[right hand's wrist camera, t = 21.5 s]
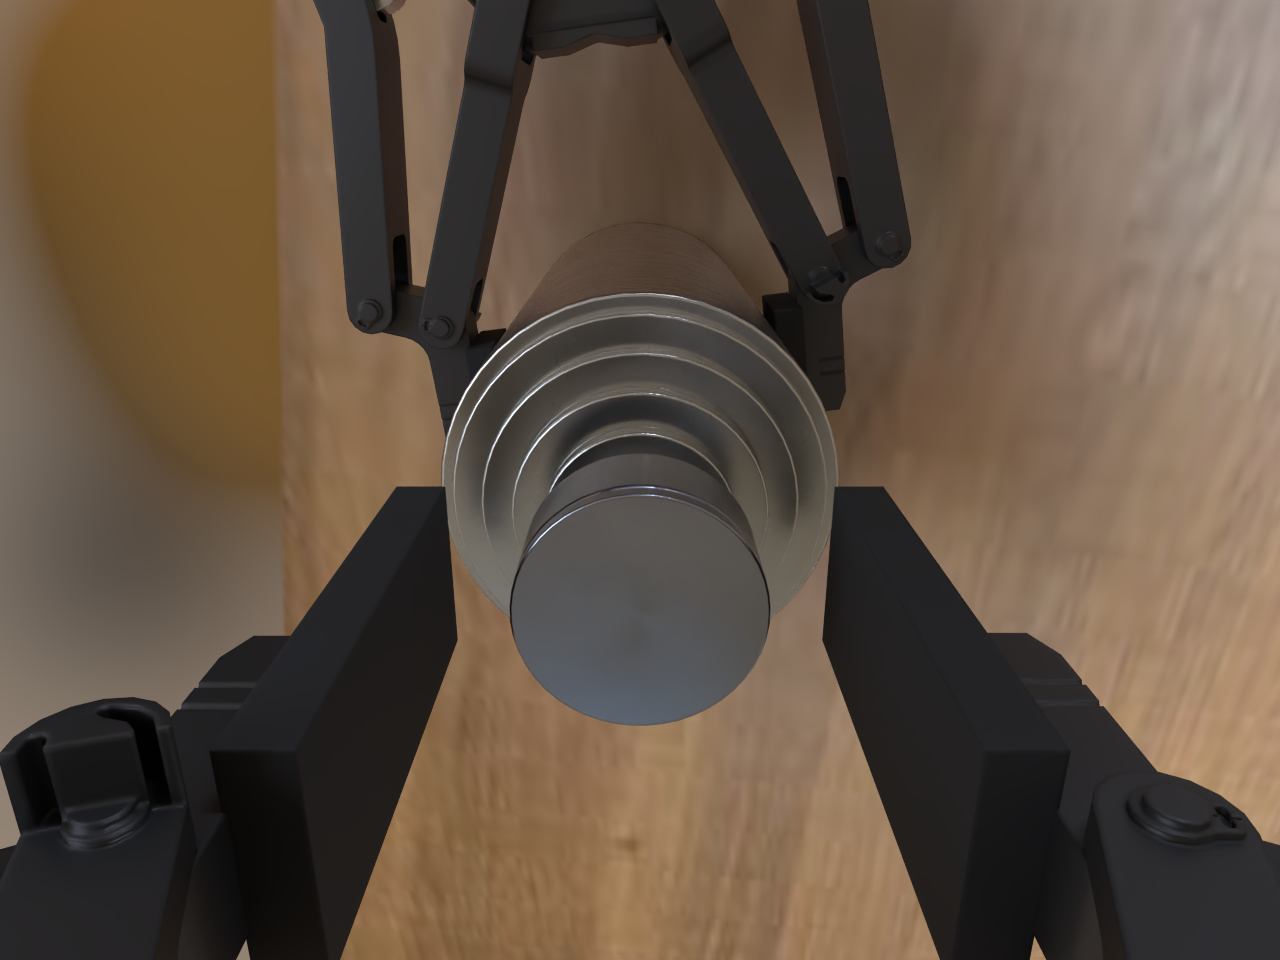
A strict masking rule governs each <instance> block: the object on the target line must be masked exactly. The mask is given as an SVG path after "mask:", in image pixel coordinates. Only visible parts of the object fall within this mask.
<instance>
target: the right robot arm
mask: <svg viewBox="0 0 1280 960" xmlns="http://www.w3.org/2000/svg"><path fill="white" fill-rule="evenodd" d="M457 640H458V639H457V626H456V614H455V601H454V589H453V576H452V564H451V551H450V538H449V526H448V513H447V501H446V488H445V487H396V488H395V490H394V491H393V493H392V494H391V495H390V497H389V498H388V500H387V501H386V502H385V504H384V505H383V507H382V508H381V510H380V511H379V512H378V514H377V515H376V517H375V518H374V519H373V521H372V522H371V524H370V525H369V526H368V528H367V529H366V531H365V532H364V533H363V535H362V536H361V538H360V539H359V540H358V542H357V543H356V545H355V546H354V547H353V549H352V550H351V552H350V553H349V555H348V556H347V557H346V559H345V560H344V562H343V563H342V564H341V566H340V567H339V569H338V570H337V571H336V573H335V574H334V576H333V577H332V578H331V580H330V581H329V583H328V584H327V585H326V587H325V588H324V590H323V591H322V593H321V594H320V595H319V597H318V598H317V600H316V601H315V602H314V604H313V605H312V607H311V608H310V609H309V611H308V612H307V614H306V615H305V616H304V618H303V619H302V621H301V622H300V623H299V625H298V626H297V628H296V629H295V630H294V632H293V633H292V635H291V636H253V637H251V638H250V639H248V640H247V641H245V642H243V643H242V644H240V645H239V646H237V647H236V648H234V649H232V650H231V651H229V652H228V653H226V654H225V655H223V656H221V657H220V658H219V659H218V660H217V661H216V663H215V664H214V665H213V666H212V668H211V669H210V670H209V671H208V673H207V674H206V675H205V676H204V677H203V679H202V680H201V681H200V682H199V687H198V688H194V690H193V691H192V692H191V693H190V694H189V696H188V697H187V698H186V699H185V700H184V702H183V703H182V707H181V710H176V712H175V713H174V714H173V715H172V716H171V717H170V712H169V711H167V710H166V709H165V708H163V707H162V706H161V705H160V704H158V703H157V702H155V701H150V700H145V699H140V698H135V697H128V698H112V699H102V700H97V701H93V702H90V703H85V704H81V705H77V706H73V707H70V708H67V709H65V710H63V711H60V712H58V713H55V714H53V715H51V716H48V717H46V718H43V719H41V720H39V721H38V722H36V723H35V724H33V725H31V726H30V727H29V728H27V729H25V730H24V731H22V732H21V733H19V734H18V735H16V736H15V737H13V739H12V740H11V741H10V742H9V743H8V744H7V745H6V747H5V748H4V749H3V750H2V751H1V752H0V766H1V770H2V773H3V777H4V780H5V784H6V787H7V790H8V794H9V797H10V800H11V804H12V807H13V811H14V814H15V817H16V821H17V824H18V828H19V831H20V834H21V836H20V838H19V840H18V842H17V844H16V845H14V846H10V847H7V848H3V849H0V960H236V959H237V957H238V955H239V953H240V951H241V949H242V947H243V944H244V943H245V941H246V940H247V945H248V950H249V955H250V960H340V958H341V955H342V953H343V950H344V947H345V945H346V942H347V939H348V936H349V934H350V931H351V928H352V926H353V923H354V920H355V917H356V915H357V912H358V909H359V907H360V904H361V901H362V898H363V896H364V893H365V890H366V888H367V885H368V882H369V879H370V877H371V874H372V871H373V868H374V866H375V863H376V860H377V858H378V855H379V852H380V849H381V847H382V844H383V841H384V839H385V836H386V833H387V830H388V828H389V825H390V822H391V820H392V817H393V814H394V811H395V809H396V806H397V803H398V801H399V798H400V795H401V792H402V790H403V787H404V784H405V782H406V779H407V776H408V773H409V771H410V768H411V765H412V763H413V760H414V757H415V754H416V752H417V749H418V746H419V744H420V741H421V738H422V735H423V733H424V730H425V727H426V725H427V722H428V719H429V716H430V714H431V711H432V708H433V706H434V703H435V700H436V697H437V695H438V692H439V689H440V686H441V684H442V681H443V678H444V676H445V673H446V670H447V667H448V665H449V662H450V659H451V657H452V654H453V651H454V648H455V646H456V643H457ZM822 640H823V643H824V646H825V648H826V651H827V654H828V657H829V659H830V662H831V665H832V667H833V670H834V673H835V676H836V678H837V681H838V684H839V686H840V689H841V692H842V695H843V697H844V700H845V703H846V706H847V708H848V711H849V714H850V716H851V719H852V722H853V725H854V727H855V730H856V733H857V735H858V738H859V741H860V744H861V746H862V749H863V752H864V754H865V757H866V760H867V763H868V765H869V768H870V771H871V773H872V776H873V779H874V782H875V784H876V787H877V790H878V792H879V795H880V798H881V801H882V803H883V806H884V809H885V811H886V814H887V817H888V820H889V822H890V825H891V828H892V830H893V833H894V836H895V839H896V841H897V844H898V847H899V849H900V852H901V855H902V858H903V860H904V863H905V866H906V868H907V871H908V874H909V877H910V879H911V882H912V885H913V888H914V890H915V893H916V896H917V898H918V901H919V904H920V907H921V909H922V912H923V915H924V917H925V920H926V923H927V926H928V928H929V931H930V934H931V936H932V939H933V942H934V945H935V947H936V950H937V953H938V955H939V958H940V960H1030V955H1031V950H1032V945H1033V940H1034V936H1035V938H1036V940H1037V942H1038V944H1039V946H1040V948H1041V950H1042V952H1043V954H1044V956H1045V958H1046V960H1280V845H1277V844H1273V843H1270V842H1266V841H1262V838H1261V836H1260V834H1259V833H1258V831H1257V830H1256V829H1255V827H1254V826H1253V825H1252V823H1251V822H1250V820H1249V819H1248V818H1247V816H1246V815H1245V814H1244V813H1243V812H1242V811H1240V810H1239V809H1238V808H1236V807H1235V806H1234V805H1232V804H1231V803H1230V802H1228V801H1227V800H1226V799H1224V798H1223V797H1222V796H1220V795H1219V794H1217V793H1215V792H1213V791H1210V790H1208V789H1206V788H1204V787H1202V786H1200V785H1198V784H1196V783H1194V782H1192V781H1190V780H1186V779H1182V778H1179V777H1175V776H1171V775H1168V774H1164V773H1161V772H1157V770H1156V769H1155V768H1154V767H1153V766H1152V764H1151V763H1150V762H1149V761H1148V760H1147V758H1146V757H1145V756H1144V755H1143V753H1142V752H1141V751H1140V750H1139V749H1138V747H1137V746H1136V745H1135V744H1134V743H1133V741H1132V740H1131V739H1130V738H1129V737H1128V735H1127V734H1126V733H1125V732H1124V730H1123V729H1122V728H1121V727H1120V726H1119V724H1118V723H1117V722H1116V721H1115V720H1114V718H1113V717H1112V716H1111V715H1110V714H1109V712H1108V711H1107V710H1106V709H1105V707H1104V706H1099V700H1098V699H1097V698H1096V697H1095V695H1094V694H1093V693H1092V692H1091V690H1090V689H1089V688H1088V687H1087V686H1086V685H1082V680H1081V678H1080V677H1079V676H1078V675H1077V674H1076V672H1075V671H1074V670H1073V669H1072V667H1071V666H1070V665H1069V664H1068V663H1067V661H1066V660H1065V659H1064V658H1063V657H1062V655H1061V654H1059V653H1058V652H1056V651H1054V650H1053V649H1051V648H1050V647H1048V646H1046V645H1045V644H1043V643H1042V642H1040V641H1039V640H1037V639H1035V638H1034V637H1032V636H1031V635H1029V634H1027V633H987V632H986V630H985V629H984V628H983V626H982V625H981V623H980V622H979V621H978V619H977V618H976V616H975V615H974V614H973V612H972V611H971V609H970V608H969V607H968V605H967V604H966V602H965V601H964V600H963V598H962V597H961V595H960V594H959V593H958V591H957V590H956V588H955V587H954V585H953V584H952V583H951V581H950V580H949V578H948V577H947V576H946V574H945V573H944V571H943V570H942V569H941V567H940V566H939V564H938V563H937V562H936V560H935V559H934V557H933V556H932V555H931V553H930V552H929V550H928V549H927V547H926V546H925V545H924V543H923V542H922V540H921V539H920V538H919V536H918V535H917V533H916V532H915V531H914V529H913V528H912V526H911V525H910V524H909V522H908V521H907V519H906V518H905V517H904V515H903V514H902V512H901V511H900V510H899V508H898V507H897V505H896V504H895V502H894V501H893V500H892V498H891V497H890V495H889V494H888V493H887V491H886V490H885V488H884V487H835V488H834V501H833V513H832V526H831V538H830V551H829V564H828V576H827V589H826V601H825V614H824V626H823V639H822Z"/></svg>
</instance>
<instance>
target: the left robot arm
mask: <svg viewBox="0 0 1280 960" xmlns="http://www.w3.org/2000/svg"><path fill="white" fill-rule="evenodd" d="M313 1H314V3H315V5H316V8H317V10H318V13H319V15H320V18H321V20H322V23H323V25H324V31H325V43H326V55H327V67H328V80H329V92H330V104H331V117H332V129H333V141H334V154H335V166H336V178H337V190H338V203H339V215H340V227H341V240H342V252H343V264H344V276H345V289H346V301H347V312H348V315H349V319H350V321H351V322H352V324H353V325H354V326H355V327H356V328H357V329H359V330H360V331H362V332H364V333H368V334H376V333H380V332H383V333H388V334H392V335H397V336H401V337H406V338H409V339H411V340H414V341H415V342H417V343H418V344H419V345H420V346H421V347H422V348H423V349H424V350H425V351H426V353H427V355H428V357H429V360H430V364H431V369H432V374H433V378H434V383H435V388H436V393H437V398H438V402H439V406H440V412H441V417H442V420H443V426H444V431H445V436H446V435H447V432H448V429H449V426H450V423H451V420H452V416H453V413H454V411H455V409H456V407H457V405H458V403H459V401H460V399H461V397H462V395H463V393H464V390H465V389H466V387H467V386H468V384H469V383H470V381H471V380H472V378H473V377H474V375H475V374H476V372H477V371H478V369H479V368H480V367H481V365H482V364H483V362H484V361H485V360H486V358H487V357H488V355H489V354H490V353H491V351H492V350H493V349H494V347H495V346H496V344H497V343H498V342H499V340H500V339H501V337H502V336H503V335H504V333H505V332H506V328H504V329H496V330H488V331H481V332H480V333H479V334H478V329H477V324H476V322H477V321H478V320H479V318H480V316H481V313H479V308H480V303H481V299H482V294H483V289H484V285H485V280H486V275H487V271H488V266H489V261H490V257H491V252H492V247H493V243H494V238H495V233H496V229H497V224H498V219H499V215H500V210H501V205H502V201H503V196H504V191H505V187H506V182H507V177H508V173H509V168H510V163H511V159H512V154H513V149H514V145H515V140H516V135H517V131H518V126H519V121H520V117H521V112H522V107H523V103H524V100H525V97H526V94H527V92H528V89H529V85H530V81H531V76H532V72H533V67H534V63H535V58H536V55H538V56H539V57H540V58H541V59H544V58H551V57H559V56H566V55H571V54H573V53H575V52H577V51H579V50H582V49H584V48H586V47H588V46H590V45H593V44H595V43H599V42H600V43H607V44H614V45H620V46H627V47H630V46H637V45H644V44H651V43H657V39H659V38H661V37H663V39H664V41H665V43H666V45H667V47H668V49H669V51H670V53H671V55H672V57H673V59H674V60H675V62H676V64H677V66H678V68H679V70H680V71H681V73H682V74H683V76H684V77H685V79H686V81H687V83H688V85H689V87H690V89H691V91H692V93H693V95H694V97H695V99H696V101H697V103H698V104H699V106H700V108H701V110H702V112H703V114H704V116H705V118H706V120H707V122H708V124H709V126H710V128H711V130H712V132H713V134H714V136H715V138H716V140H717V142H718V144H719V146H720V148H721V149H722V151H723V153H724V155H725V157H726V159H727V161H728V163H729V165H730V167H731V169H732V171H733V173H734V175H735V177H736V179H737V181H738V183H739V185H740V187H741V189H742V191H743V193H744V194H745V196H746V198H747V200H748V202H749V204H750V206H751V208H752V210H753V212H754V214H755V216H756V218H757V220H758V222H759V224H760V226H761V228H762V230H763V232H764V234H765V236H766V238H767V239H768V241H769V243H770V245H771V247H772V249H773V251H774V253H775V255H776V257H777V259H778V261H779V263H780V265H781V267H782V269H783V271H784V273H785V275H786V277H787V278H788V286H789V294H788V293H779V294H771V295H763V296H762V303H763V316H764V318H765V319H766V320H767V322H768V323H769V325H770V326H771V327H772V329H773V330H774V332H775V333H776V334H777V336H778V337H779V339H780V340H781V341H782V343H783V344H784V345H785V347H786V348H787V350H788V351H789V352H790V354H791V355H792V357H793V358H794V359H795V361H796V362H797V364H798V365H799V366H800V368H801V369H802V371H803V372H804V373H805V375H806V376H807V378H808V379H809V380H810V382H811V384H812V386H813V387H814V389H815V391H816V393H817V395H818V396H819V398H820V400H821V402H822V404H823V406H824V409H825V411H829V410H837V409H840V407H841V404H842V401H843V398H844V395H845V392H846V386H845V372H844V370H845V366H844V346H843V326H842V302H843V299H844V297H845V295H846V293H847V291H848V290H849V288H850V287H851V286H852V285H853V284H854V283H855V282H857V281H858V280H860V279H862V278H864V277H866V276H868V275H870V274H872V273H874V272H876V271H878V270H880V269H882V268H893V267H895V266H896V265H898V264H900V263H902V261H903V260H904V259H905V258H906V257H907V256H908V253H909V251H910V248H911V236H910V231H909V225H908V220H907V214H906V209H905V203H904V198H903V192H902V187H901V181H900V176H899V170H898V164H897V159H896V153H895V148H894V142H893V137H892V131H891V126H890V120H889V115H888V109H887V104H886V98H885V92H884V87H883V81H882V76H881V70H880V65H879V59H878V54H877V48H876V43H875V37H874V32H873V26H872V21H871V15H870V9H869V4H868V0H797V5H798V10H799V15H800V20H801V25H802V30H803V35H804V39H805V44H806V49H807V54H808V59H809V64H810V69H811V74H812V78H813V83H814V88H815V93H816V98H817V103H818V108H819V113H820V117H821V122H822V127H823V132H824V137H825V142H826V147H827V152H828V156H829V161H830V166H831V171H832V176H833V181H834V186H835V191H836V195H837V200H838V205H839V210H840V215H841V220H842V225H843V229H841V230H839V231H837V232H835V233H833V234H831V235H829V236H826V234H825V232H824V230H823V228H822V226H821V224H820V222H819V220H818V218H817V216H816V214H815V212H814V210H813V208H812V206H811V204H810V201H809V199H808V197H807V195H806V193H805V191H804V189H803V187H802V185H801V183H800V181H799V179H798V177H797V175H796V173H795V171H794V169H793V167H792V165H791V163H790V161H789V159H788V156H787V154H786V152H785V150H784V148H783V146H782V144H781V142H780V140H779V138H778V136H777V134H776V132H775V130H774V128H773V126H772V124H771V122H770V120H769V118H768V116H767V113H766V111H765V109H764V107H763V105H762V103H761V101H760V99H759V97H758V95H757V93H756V91H755V89H754V87H753V85H752V83H751V81H750V79H749V77H748V75H747V73H746V71H745V68H744V66H743V64H742V62H741V60H740V58H739V56H738V54H737V52H736V50H735V48H734V46H733V43H732V40H731V37H730V33H729V31H728V28H727V26H726V24H725V21H724V19H723V17H722V15H721V13H720V11H719V9H718V7H717V5H716V3H715V1H714V0H468V1H469V2H470V3H471V4H472V6H473V7H474V8H475V10H474V15H473V20H472V26H471V31H470V36H469V41H468V47H467V52H466V58H465V66H464V76H465V81H464V89H463V94H462V99H461V104H460V109H459V115H458V120H457V125H456V130H455V135H454V141H453V146H452V151H451V156H450V162H449V167H448V172H447V177H446V182H445V188H444V193H443V198H442V203H441V208H440V214H439V219H438V224H437V229H436V234H435V240H434V245H433V250H432V255H431V260H430V266H429V271H428V276H427V281H426V286H425V287H420V286H416V285H412V267H411V249H410V231H409V213H408V195H407V177H406V159H405V142H404V124H403V106H402V88H401V70H400V56H399V47H398V39H397V34H396V30H395V25H394V21H393V18H392V15H391V14H392V13H394V12H396V11H398V10H400V8H401V7H402V6H403V5H404V3H405V1H406V0H313Z"/></svg>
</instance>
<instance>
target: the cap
mask: <svg viewBox="0 0 1280 960" xmlns="http://www.w3.org/2000/svg"><path fill="white" fill-rule="evenodd" d="M770 611H771V607H770V594H769V590H768V585H767V581H766V577H765V574H764V570H763V567H762V563H761V560H760V556H759V553H758V549H757V546H756V543H755V539H754V536H753V532H752V529H751V527H750V524H749V521H748V519H747V517H746V515H745V513H744V511H743V510H742V508H741V506H740V504H739V503H738V502H737V500H736V499H735V498H734V497H733V495H732V494H731V493H730V492H729V491H728V490H727V489H726V488H725V487H724V486H723V485H722V484H721V483H720V482H719V481H717V480H716V479H715V478H713V477H712V476H711V475H709V474H708V473H706V472H705V471H703V470H701V469H699V468H698V467H696V466H694V465H691V464H689V463H686V462H684V461H681V460H678V459H675V458H671V457H667V456H662V455H656V454H626V455H618V456H613V457H609V458H605V459H602V460H599V461H596V462H594V463H591V464H589V465H586V466H585V467H583V468H581V469H579V470H577V471H575V472H574V473H572V474H571V475H569V476H568V477H567V478H565V479H564V480H562V481H561V482H560V483H559V484H558V485H557V486H556V487H555V488H554V489H553V490H552V491H551V492H550V493H549V494H548V495H547V497H546V498H545V499H544V501H543V502H542V503H541V505H540V506H539V508H538V510H537V511H536V513H535V515H534V517H533V519H532V522H531V524H530V527H529V529H528V533H527V536H526V540H525V543H524V547H523V550H522V553H521V557H520V560H519V564H518V568H517V571H516V574H515V578H514V582H513V586H512V590H511V597H510V623H511V628H512V634H513V638H514V641H515V643H516V646H517V649H518V652H519V654H520V656H521V657H522V659H523V661H524V663H525V665H526V666H527V668H528V669H529V671H530V672H531V674H532V675H533V676H534V678H535V679H536V680H537V681H538V682H539V683H540V684H541V685H542V686H543V688H544V689H545V690H547V691H548V692H549V693H550V694H551V695H553V696H554V697H555V698H556V699H558V700H559V701H561V702H562V703H564V704H565V705H567V706H568V707H570V708H572V709H574V710H576V711H578V712H580V713H582V714H584V715H587V716H590V717H592V718H595V719H598V720H602V721H606V722H610V723H615V724H623V725H633V726H648V725H658V724H665V723H670V722H674V721H679V720H682V719H685V718H688V717H691V716H694V715H696V714H698V713H700V712H702V711H704V710H706V709H709V708H710V707H712V706H713V705H715V704H716V703H718V702H720V701H721V700H723V699H724V698H725V697H726V696H728V695H729V694H730V693H731V692H732V691H734V690H735V689H736V688H737V687H738V685H739V684H740V683H741V682H742V681H743V680H744V679H745V678H746V676H747V675H748V674H749V672H750V671H751V670H752V668H753V667H754V665H755V663H756V661H757V660H758V658H759V656H760V654H761V652H762V649H763V647H764V644H765V641H766V638H767V634H768V629H769V625H770Z"/></svg>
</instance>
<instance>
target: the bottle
mask: <svg viewBox="0 0 1280 960" xmlns="http://www.w3.org/2000/svg"><path fill="white" fill-rule="evenodd" d="M626 454H656V455H662V456H667V457H671V458H675V459H678V460H681V461H684V462H686V463H689V464H691V465H694V466H696V467H698V468H699V469H701V470H703V471H705V472H706V473H708V474H709V475H711V476H712V477H713V478H715V479H716V480H717V481H719V482H720V483H721V484H722V485H723V486H724V487H725V488H726V489H727V490H728V491H729V492H730V493H731V494H732V495H733V497H734V498H735V499H736V500H737V502H738V503H739V504H740V506H741V508H742V510H743V511H744V513H745V515H746V517H747V519H748V521H749V524H750V527H751V529H752V532H753V536H754V539H755V543H756V546H757V549H758V553H759V556H760V560H761V563H762V567H763V570H764V574H765V577H766V581H767V585H768V590H769V594H770V607H771V611H770V619H771V618H772V617H773V616H774V615H775V614H777V613H778V612H779V611H780V610H781V609H782V608H783V607H784V606H786V604H787V603H788V602H789V601H790V600H791V599H792V598H793V596H794V595H795V594H796V593H797V592H798V591H799V590H800V588H801V587H802V586H803V584H804V583H805V581H806V580H807V578H808V577H809V575H810V574H811V572H812V571H813V569H814V568H815V566H816V564H817V562H818V560H819V558H820V556H821V554H822V552H823V550H824V548H825V546H826V543H827V540H828V537H829V534H830V531H831V526H832V513H833V501H834V488H835V487H838V486H839V468H838V457H837V449H836V444H835V440H834V436H833V432H832V427H831V424H830V422H829V419H828V417H827V414H826V412H825V409H824V406H823V404H822V402H821V400H820V398H819V396H818V395H817V393H816V391H815V389H814V387H813V386H812V384H811V382H810V380H809V379H808V378H807V376H806V375H805V373H804V372H803V371H802V369H801V368H800V366H799V365H798V364H797V362H796V361H795V359H794V358H793V357H792V355H791V354H790V352H789V351H788V350H787V348H786V347H785V345H784V344H783V343H782V341H781V340H780V339H779V337H778V336H777V334H776V333H775V332H774V330H773V329H772V327H771V326H770V325H769V323H768V322H767V320H766V319H765V318H764V316H763V315H762V313H761V312H760V311H759V309H758V308H757V306H756V305H755V304H754V302H753V301H752V300H751V298H750V297H749V295H748V294H747V293H746V291H745V290H744V288H743V287H742V286H741V284H740V283H739V281H738V280H737V279H736V277H735V276H734V274H733V273H732V272H731V270H730V269H729V268H728V266H727V265H726V264H725V263H724V261H723V260H722V259H721V258H720V257H719V256H718V255H717V254H716V253H715V252H714V251H713V250H712V249H711V248H709V247H708V246H707V245H705V244H704V243H703V242H701V241H700V240H698V239H696V238H695V237H693V236H691V235H689V234H687V233H685V232H682V231H680V230H677V229H675V228H671V227H667V226H663V225H659V224H650V223H628V224H622V225H616V226H612V227H609V228H606V229H603V230H600V231H598V232H595V233H593V234H591V235H589V236H587V237H585V238H584V239H582V240H581V241H579V242H578V243H576V244H574V245H573V246H572V247H571V248H570V249H569V250H567V251H566V252H565V253H564V254H563V255H562V256H561V257H560V258H559V259H558V260H557V262H556V263H555V264H554V265H553V266H552V268H551V269H550V270H549V272H548V273H547V275H546V276H545V277H544V279H543V280H542V282H541V283H540V284H539V286H538V287H537V289H536V290H535V291H534V293H533V294H532V296H531V297H530V298H529V300H528V301H527V303H526V304H525V305H524V307H523V308H522V309H521V311H520V312H519V314H518V315H517V316H516V318H515V319H514V321H513V322H512V323H511V325H510V326H509V328H508V329H507V330H506V332H505V333H504V335H503V336H502V337H501V339H500V340H499V342H498V343H497V344H496V346H495V347H494V349H493V350H492V351H491V353H490V354H489V355H488V357H487V358H486V360H485V361H484V362H483V364H482V365H481V367H480V368H479V369H478V371H477V372H476V374H475V375H474V377H473V378H472V380H471V381H470V383H469V384H468V386H467V387H466V389H465V390H464V393H463V395H462V397H461V399H460V401H459V403H458V405H457V407H456V409H455V411H454V413H453V416H452V420H451V423H450V426H449V429H448V432H447V435H446V440H445V446H444V451H443V457H442V474H441V487H445V488H446V501H447V513H448V526H449V532H450V535H451V537H452V540H453V542H454V544H455V547H456V549H457V552H458V554H459V556H460V558H461V560H462V562H463V563H464V565H465V567H466V569H467V570H468V572H469V574H470V576H471V577H472V578H473V580H474V581H475V582H476V584H477V585H478V586H479V588H480V589H481V590H482V592H483V593H484V594H485V596H486V597H487V598H488V599H489V600H490V601H491V602H492V603H493V604H494V605H495V606H496V607H497V608H498V609H499V610H500V611H501V612H502V613H503V614H504V615H506V616H507V617H508V618H509V619H510V597H511V590H512V586H513V582H514V578H515V574H516V571H517V568H518V564H519V560H520V557H521V553H522V550H523V547H524V543H525V540H526V536H527V533H528V529H529V527H530V524H531V522H532V519H533V517H534V515H535V513H536V511H537V510H538V508H539V506H540V505H541V503H542V502H543V501H544V499H545V498H546V497H547V495H548V494H549V493H550V492H551V491H552V490H553V489H554V488H555V487H556V486H557V485H558V484H559V483H560V482H561V481H562V480H564V479H565V478H567V477H568V476H569V475H571V474H572V473H574V472H575V471H577V470H579V469H581V468H583V467H585V466H586V465H589V464H591V463H594V462H596V461H599V460H602V459H605V458H609V457H613V456H618V455H626Z"/></svg>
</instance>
